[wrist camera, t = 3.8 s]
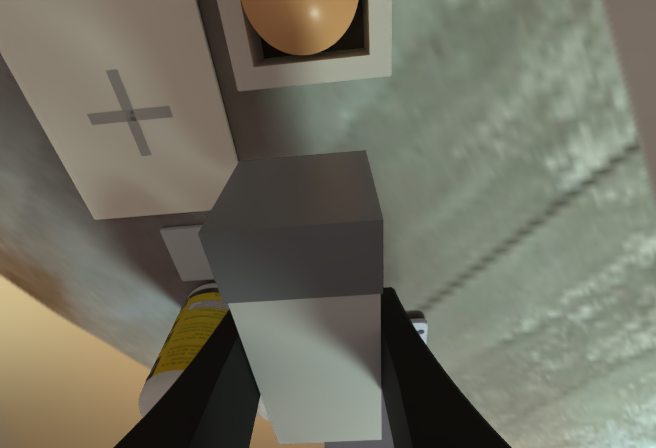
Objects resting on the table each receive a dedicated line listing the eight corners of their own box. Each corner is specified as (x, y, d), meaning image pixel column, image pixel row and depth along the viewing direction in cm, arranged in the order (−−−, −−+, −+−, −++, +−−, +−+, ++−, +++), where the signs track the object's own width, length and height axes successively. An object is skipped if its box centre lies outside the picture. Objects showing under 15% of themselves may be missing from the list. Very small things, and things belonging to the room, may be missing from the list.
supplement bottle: (179, 277, 22) (90, 440, 14) (262, 280, 22) (223, 443, 14) (193, 332, 25) (127, 493, 17) (266, 334, 25) (236, 495, 17)
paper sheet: (249, 205, 19) (248, 207, 19) (96, 218, 19) (94, 220, 19) (186, -42, 13) (183, -43, 13) (-33, -14, 13) (-39, -15, 13)
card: (274, 271, 22) (273, 275, 21) (183, 278, 22) (182, 282, 22) (262, 219, 19) (260, 223, 19) (161, 227, 20) (158, 231, 19)
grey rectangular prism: (372, 349, 15) (383, 442, 12) (287, 354, 15) (276, 447, 12) (365, 150, 10) (383, 219, 7) (239, 161, 10) (197, 233, 7)
